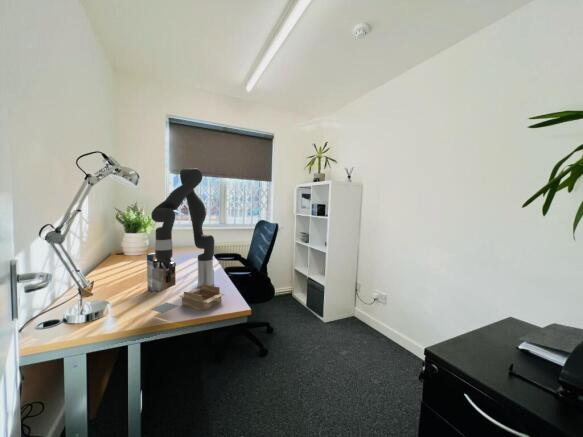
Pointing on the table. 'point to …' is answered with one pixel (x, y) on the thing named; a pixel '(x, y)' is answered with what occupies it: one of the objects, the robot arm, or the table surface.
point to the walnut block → (161, 279)
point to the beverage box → (150, 270)
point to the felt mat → (164, 307)
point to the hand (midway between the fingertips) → (164, 281)
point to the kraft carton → (202, 297)
